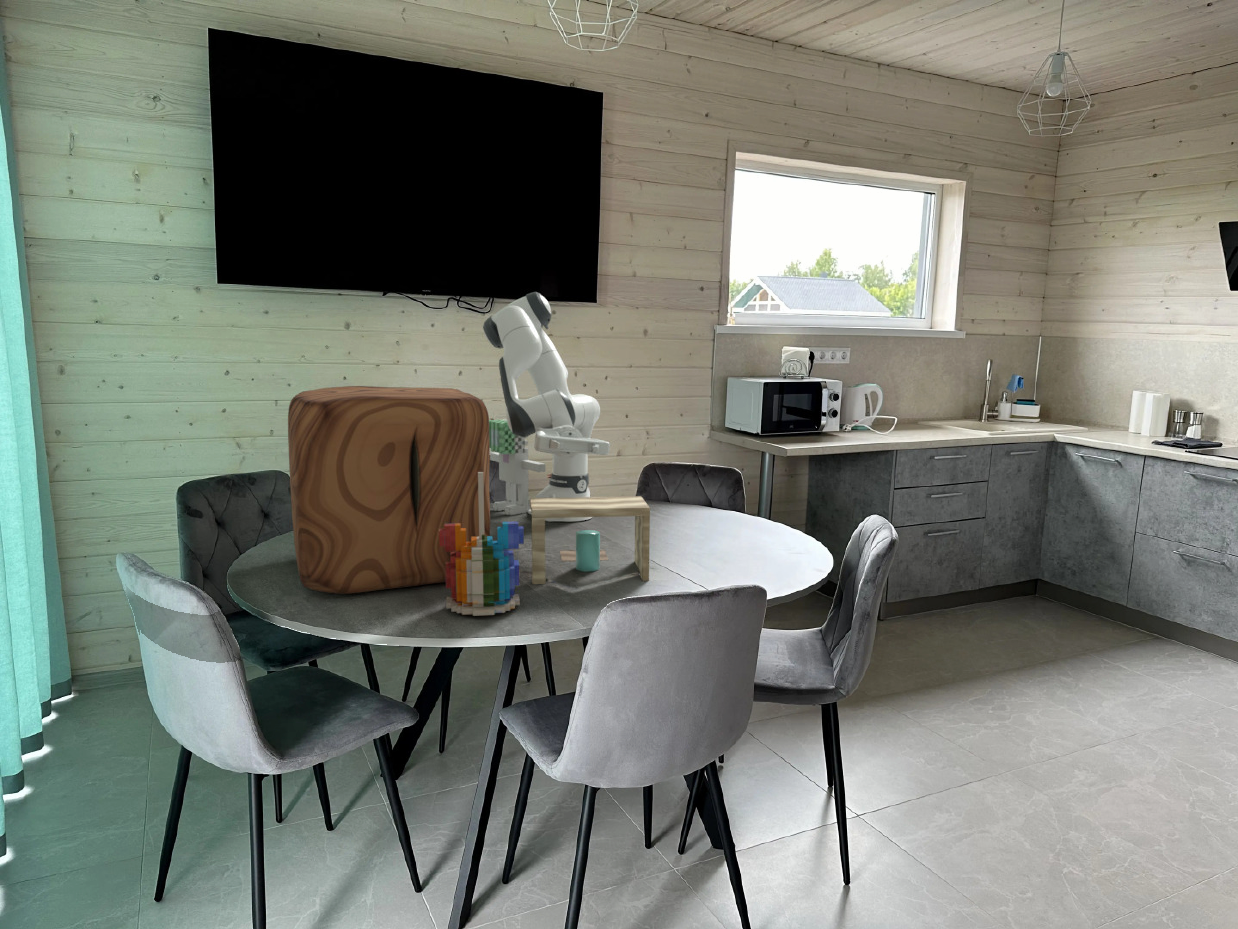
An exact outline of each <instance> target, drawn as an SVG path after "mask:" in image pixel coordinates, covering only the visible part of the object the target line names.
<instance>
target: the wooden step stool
mask: <svg viewBox="0 0 1238 929" xmlns="http://www.w3.org/2000/svg"><path fill="white" fill-rule="evenodd" d="M529 501H530V509H531V514H532V515H531V514H530V515H531V575H532V576H531V578H532V579H531V582H532V583H531V584H532V585H545V584H546V521H545V518H572V517H592V518H607V517H610V518H612V517H613V518H614V517H616V518H617V517H634V563H635V565H636V567H637V569H638V571H637V573H638V572H639V573H638V574H640V575H639V576H640V578H641V580H642V581H643V582H646V581H647V582H648V581H650V538H651V536H650V534H651V532H650V531H651V530H650V528H651V527H650V526H651V525H650V524H651V521H650V520H651V517H650V516H651V508H650V505H648V504H647V502H646V501H645V499H644V498H643V497H642V496H641V495H639V496H590V497H572V498H536V497H531V498H530V499H529Z"/></svg>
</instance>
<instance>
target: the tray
mask: <svg viewBox="0 0 1238 929" xmlns="http://www.w3.org/2000/svg"><path fill="white" fill-rule="evenodd" d="M559 555H560V558H561V562H576V550H560V551H559ZM600 561H609V558H608V555H607V553H606V551H605V549H600Z"/></svg>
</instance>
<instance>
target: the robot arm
mask: <svg viewBox="0 0 1238 929" xmlns="http://www.w3.org/2000/svg"><path fill="white" fill-rule="evenodd" d="M551 320H552V309H551V305H550V303H549V301H548V300H547V299H546V297H545V296H543V295H542V294H541V293H540V292H537V291H533V292H530V293H527V294H526V295H525V296H522V297H520V298H518V299H516V300H514V301H512V302H511V303H508V304H507V305H505V307H503V308H501V309H500V310H498V311H497V312H496V313H494V315H491V316H489V317H487V319H486V320H485V321H484V322H483V326H482V329H483V333H484V336H485V338H486V341H487V342H488V343H489V344H491V346H493V347H494V348H496V349H503V355H502V356H501V357H500V358H499V360H498V361H499V362H498V368H499V369H498V370H499V375H500V382H501V387H502V395H503V398H504V402H505V407H506V409H505V410H506V411H505V412H506V414H505V415H506V419H507V423H508V426H509V428H510V430H511V431H512V433H513V434H515V435H517V436H520V437H525V438H528V437H529V436H531V435H533V434H535V437H534V450H535V451H536V452H540V453H547V454H552V473H551V474H547V476H548V477H547V479H549V481H548V485H547V486H546V487H544V488H543V489H542V490H541V491H540V492H539V493H537V494H536V497H535V498H572V497H591V492H590V488H589V484H590V481H589V480H590V477H589V476H590V474H589V473H588V462H589V460H588V457H589V456H588V455H597V456H609V454H610V450H611V444H610V442H609V441H606V440H603V439H598V438H591V436H592V433H593V429H594V427H595V424H596V423H597V421H598V420H599V418H600V415H601V407H600V406H601V405H600V403H599V401H598V400H597V399H596V398H595V397H593V396H590V395H587V394H582V393H578V394H571V392H570V390H569V386H568V382H567V381H568V377H569V371H568V369H567V367H566V365H565V363H564V361H563V359H562V357H561V355H560V354H559V351H558V350H557V347H556V346H555V344H554V343H553V341H552V340H551V339H550V337H549V336H548V334H547V333H546V331H544V329H543V327H544V328H545V330H549V324H550V322H551ZM527 370H528V373H529V375H530V376H531V380H532V381H533V384H534V385H535V388H536V390H537V393H538V394H537V395H535V396H532V397H530V398H526V399H521V398H519V393H518V389H517V384H516V382H517V379H518V378H520V376H521V375H522V374H523V373H524V372H526V371H527ZM527 436H528V437H527ZM527 514H529V515H531V516H532V514H531V508H529V510H528V513H527ZM592 518H593V517H572V518H545V522H581V521H585V520H586V521H588V520H590V519H592Z"/></svg>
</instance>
